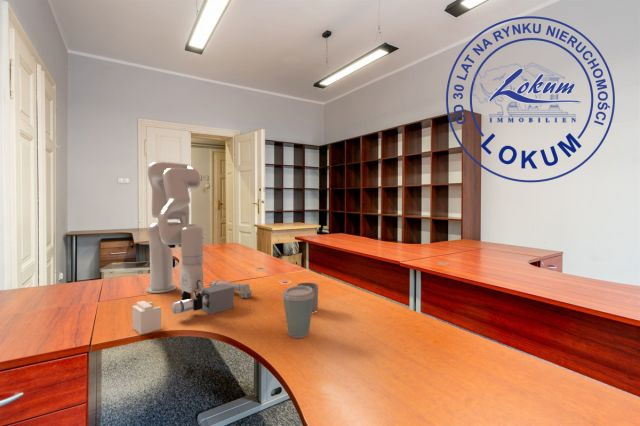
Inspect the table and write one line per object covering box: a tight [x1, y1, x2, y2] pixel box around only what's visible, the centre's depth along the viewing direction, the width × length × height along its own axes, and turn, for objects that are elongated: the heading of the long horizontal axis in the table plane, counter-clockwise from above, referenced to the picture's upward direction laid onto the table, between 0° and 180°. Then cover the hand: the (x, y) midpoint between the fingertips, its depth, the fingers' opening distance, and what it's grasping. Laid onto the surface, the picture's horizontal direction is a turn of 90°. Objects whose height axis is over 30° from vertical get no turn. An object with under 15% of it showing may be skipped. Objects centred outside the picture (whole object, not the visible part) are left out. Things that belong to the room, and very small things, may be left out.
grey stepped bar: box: [209, 280, 253, 299], centre depth 145 cm, size 5×7×25 cm
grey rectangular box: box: [200, 284, 235, 315], centre depth 125 cm, size 7×10×8 cm
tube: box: [171, 294, 209, 315], centre depth 120 cm, size 4×22×4 cm, turn 139°
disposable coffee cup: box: [281, 285, 314, 339], centre depth 103 cm, size 11×11×15 cm
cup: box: [296, 282, 319, 312], centre depth 125 cm, size 8×8×10 cm
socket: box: [132, 300, 162, 335], centre depth 105 cm, size 8×6×8 cm
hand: (192, 306), depth 117 cm, fingers open, 8 cm apart
